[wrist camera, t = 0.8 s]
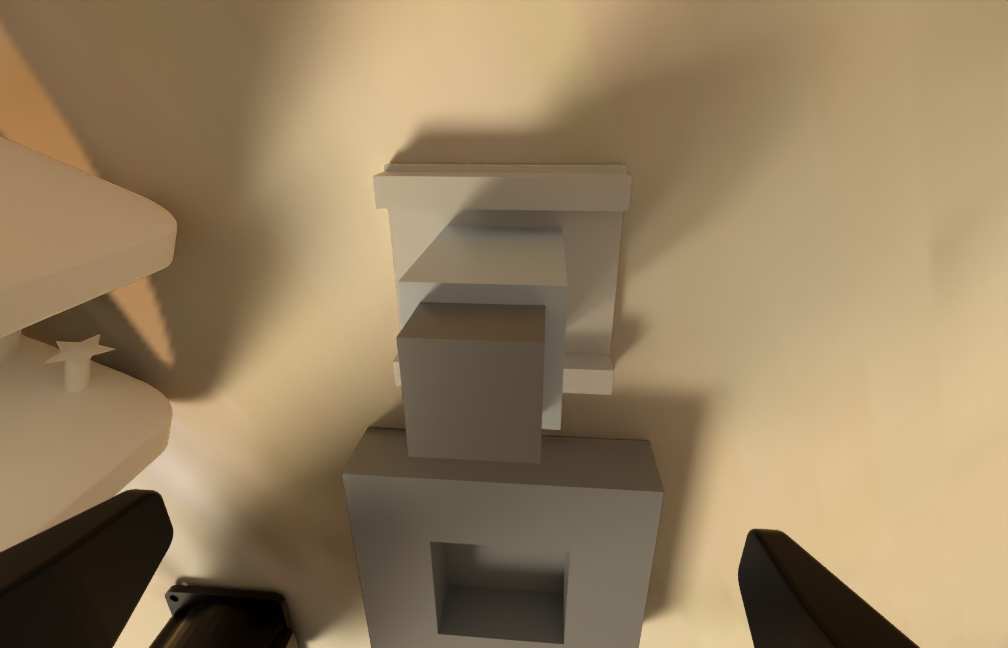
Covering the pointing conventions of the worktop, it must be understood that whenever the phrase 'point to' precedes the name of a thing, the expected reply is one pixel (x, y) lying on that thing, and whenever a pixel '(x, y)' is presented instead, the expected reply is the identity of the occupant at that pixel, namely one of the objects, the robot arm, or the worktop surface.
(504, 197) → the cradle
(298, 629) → the worktop surface
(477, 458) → the plug
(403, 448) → the socket plate
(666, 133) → the worktop surface
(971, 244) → the worktop surface
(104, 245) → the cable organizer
